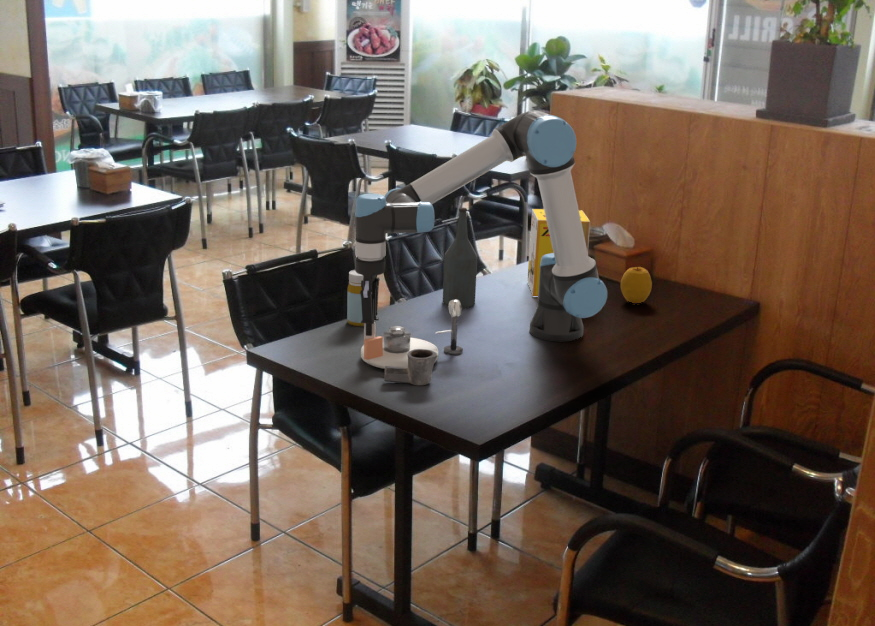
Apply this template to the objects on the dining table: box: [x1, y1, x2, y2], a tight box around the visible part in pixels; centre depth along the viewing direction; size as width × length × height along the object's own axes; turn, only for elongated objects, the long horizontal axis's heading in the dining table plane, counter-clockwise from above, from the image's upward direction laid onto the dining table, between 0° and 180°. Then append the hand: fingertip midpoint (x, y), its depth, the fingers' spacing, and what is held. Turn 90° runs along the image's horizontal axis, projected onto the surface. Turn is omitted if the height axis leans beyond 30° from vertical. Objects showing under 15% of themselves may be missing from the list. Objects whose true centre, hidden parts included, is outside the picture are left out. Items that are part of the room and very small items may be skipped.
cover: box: [382, 325, 412, 353], centre depth 251 cm, size 7×7×6 cm
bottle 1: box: [346, 269, 364, 327], centre depth 276 cm, size 7×7×15 cm
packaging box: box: [526, 208, 591, 297], centre depth 310 cm, size 16×16×25 cm
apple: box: [620, 266, 653, 304], centre depth 303 cm, size 10×10×12 cm
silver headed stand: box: [435, 300, 464, 356], centre depth 256 cm, size 8×5×14 cm, turn 118°
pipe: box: [383, 349, 437, 386], centre depth 236 cm, size 6×13×8 cm, turn 94°
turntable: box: [360, 335, 439, 370], centre depth 250 cm, size 21×20×6 cm
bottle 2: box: [442, 207, 478, 310], centre depth 293 cm, size 10×10×30 cm
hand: (369, 345), depth 248 cm, fingers closed
